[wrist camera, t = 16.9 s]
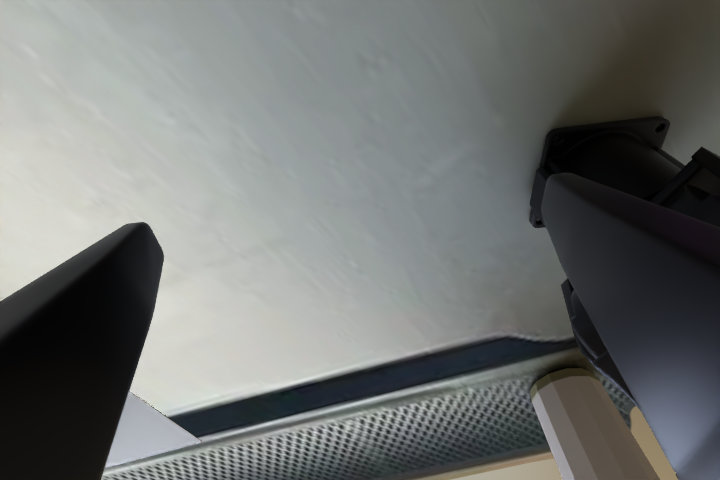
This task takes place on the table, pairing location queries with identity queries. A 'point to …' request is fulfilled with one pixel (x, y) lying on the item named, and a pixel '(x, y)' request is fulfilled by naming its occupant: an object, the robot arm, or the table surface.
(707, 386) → the robot arm
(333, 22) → the table surface
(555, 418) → the bottle
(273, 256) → the table surface
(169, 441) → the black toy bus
